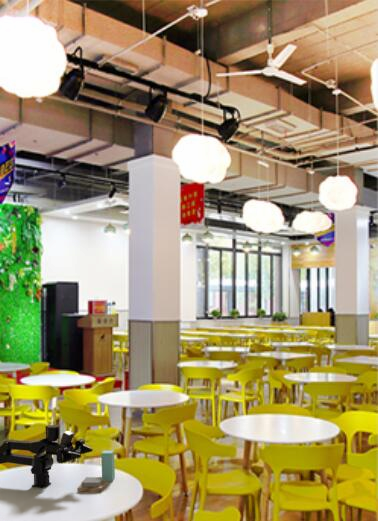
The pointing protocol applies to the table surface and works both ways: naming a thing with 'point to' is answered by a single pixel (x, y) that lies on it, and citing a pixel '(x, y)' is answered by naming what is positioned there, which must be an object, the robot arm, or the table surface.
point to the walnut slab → (93, 488)
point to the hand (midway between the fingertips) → (86, 453)
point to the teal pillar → (108, 465)
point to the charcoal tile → (92, 482)
